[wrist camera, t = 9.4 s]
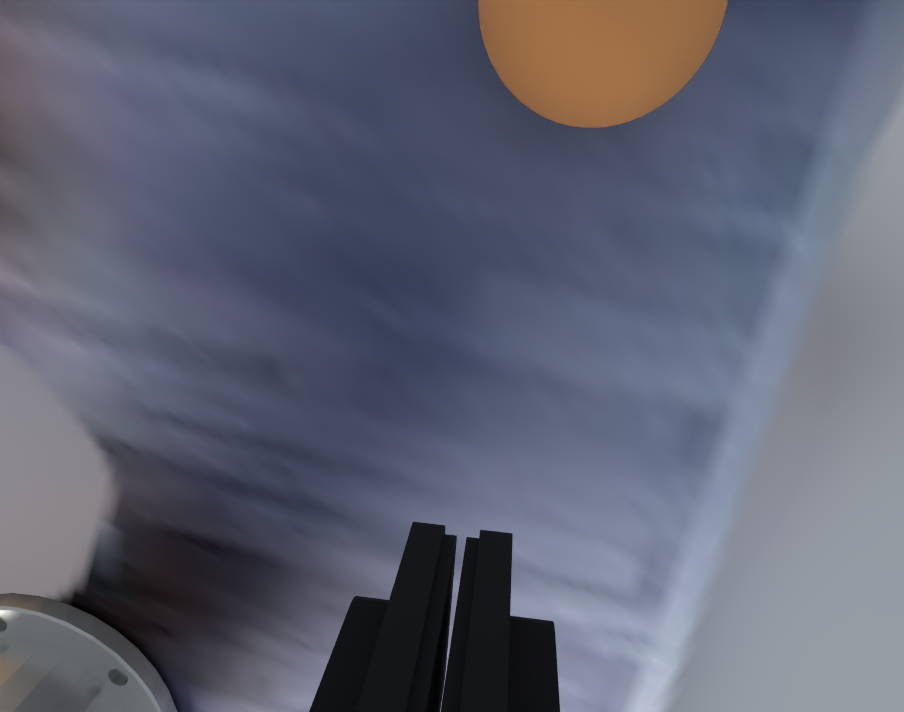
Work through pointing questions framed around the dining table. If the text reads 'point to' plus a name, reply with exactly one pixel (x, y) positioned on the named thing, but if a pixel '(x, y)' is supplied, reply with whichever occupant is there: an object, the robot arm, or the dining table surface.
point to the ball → (598, 53)
